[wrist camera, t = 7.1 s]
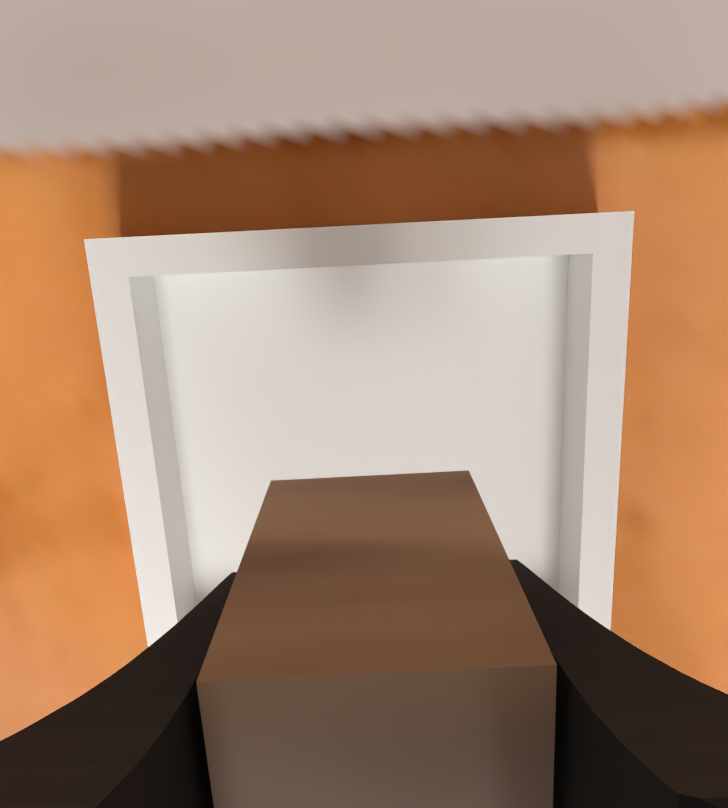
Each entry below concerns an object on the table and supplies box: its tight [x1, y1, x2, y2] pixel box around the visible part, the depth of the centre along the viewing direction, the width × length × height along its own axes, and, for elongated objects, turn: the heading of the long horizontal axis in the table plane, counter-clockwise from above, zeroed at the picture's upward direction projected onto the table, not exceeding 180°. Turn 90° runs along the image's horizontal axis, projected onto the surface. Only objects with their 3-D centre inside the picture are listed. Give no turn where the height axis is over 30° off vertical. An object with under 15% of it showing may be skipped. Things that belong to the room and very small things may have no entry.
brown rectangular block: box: [196, 470, 557, 808], centre depth 10 cm, size 4×4×6 cm
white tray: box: [84, 211, 634, 647], centre depth 19 cm, size 14×14×2 cm
